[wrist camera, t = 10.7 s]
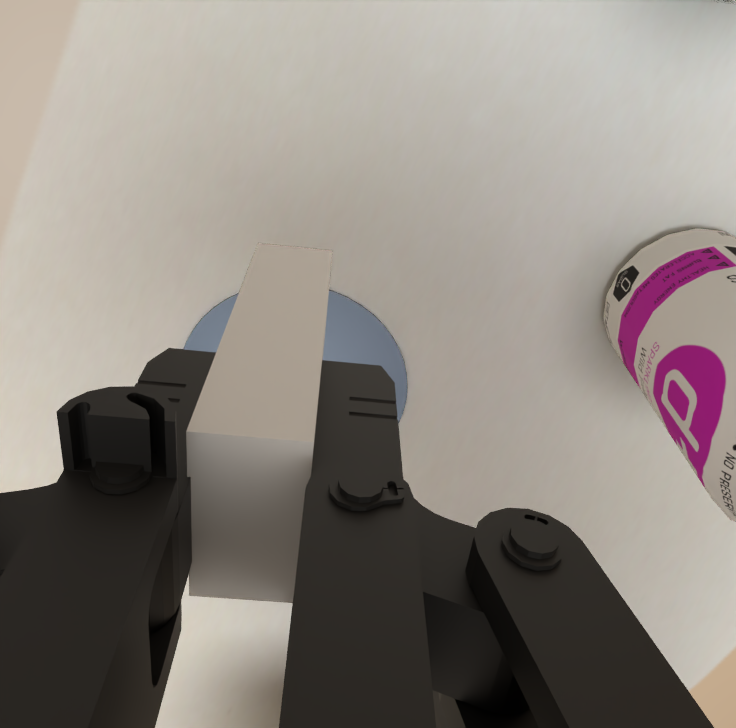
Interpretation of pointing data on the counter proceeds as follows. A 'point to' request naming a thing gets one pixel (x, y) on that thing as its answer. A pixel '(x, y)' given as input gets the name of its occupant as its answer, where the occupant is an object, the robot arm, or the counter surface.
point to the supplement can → (684, 346)
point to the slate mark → (326, 339)
